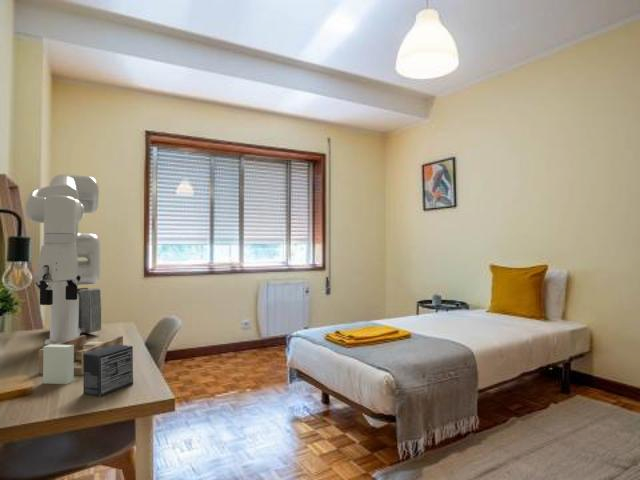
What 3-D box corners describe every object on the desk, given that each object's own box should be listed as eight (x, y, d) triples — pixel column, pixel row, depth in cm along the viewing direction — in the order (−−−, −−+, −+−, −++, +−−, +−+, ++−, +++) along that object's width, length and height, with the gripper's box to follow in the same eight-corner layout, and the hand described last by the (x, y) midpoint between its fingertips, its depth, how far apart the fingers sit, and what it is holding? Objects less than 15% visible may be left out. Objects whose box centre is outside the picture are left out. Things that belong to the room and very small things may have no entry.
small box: (116, 381, 113) (117, 343, 113) (134, 384, 110) (134, 345, 110) (81, 394, 103) (82, 352, 103) (99, 397, 101) (100, 355, 101)
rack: (82, 355, 138) (82, 335, 138) (122, 356, 137) (123, 336, 137) (38, 373, 119) (38, 349, 119) (85, 375, 118) (85, 351, 118)
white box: (49, 380, 113) (50, 344, 113) (73, 380, 113) (73, 344, 113) (42, 383, 111) (43, 346, 111) (67, 384, 110) (67, 347, 110)
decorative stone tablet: (102, 286, 172) (64, 288, 187) (87, 288, 166) (49, 290, 181) (104, 332, 170) (66, 331, 185) (89, 335, 165) (50, 333, 180)
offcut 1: (83, 357, 137) (83, 348, 137) (97, 357, 137) (97, 348, 137) (75, 360, 133) (75, 351, 133) (89, 361, 133) (89, 352, 133)
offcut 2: (89, 349, 136) (89, 342, 136) (110, 349, 136) (110, 341, 136) (83, 352, 132) (83, 344, 132) (104, 352, 133) (104, 344, 133)
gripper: (68, 240, 121) (68, 297, 121) (22, 240, 104) (21, 306, 104) (92, 240, 121) (92, 298, 121) (49, 240, 104) (49, 307, 103)
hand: (59, 302), depth 112 cm, fingers open, 9 cm apart
